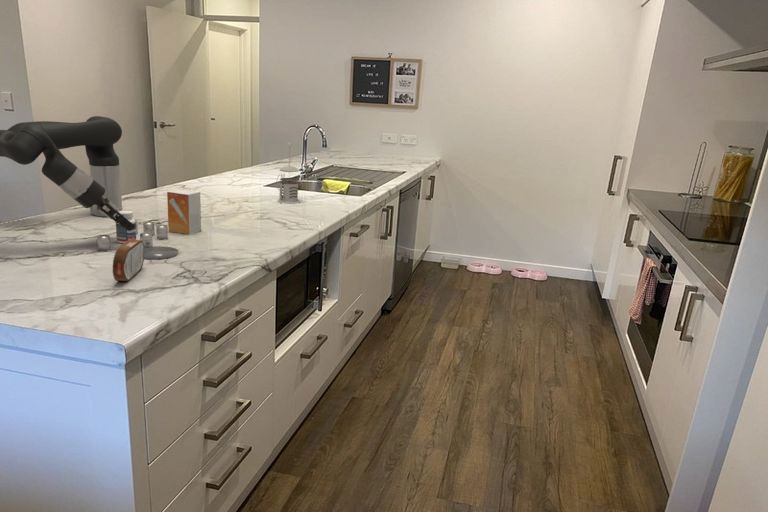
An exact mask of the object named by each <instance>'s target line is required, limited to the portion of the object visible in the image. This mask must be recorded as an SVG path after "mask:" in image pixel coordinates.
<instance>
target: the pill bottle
mask: <svg viewBox="0 0 768 512" xmlns="http://www.w3.org/2000/svg"><path fill="white" fill-rule="evenodd" d="M120 214H122V215H124V217H125V218H126V219H127V220H129V221H130V222H131V223H132V224H134V228H133V229H132V230H131V231H128V230H127V229H126V228H124V227H123V226H122V225H121V224H119V223H116V222H115V232H116V235H115V236H116V242H117V243H118V244H124V243H125V242H127V241H128V240H130V239H133V240H137V235H136V223H135V219H134V217H133V216H134V215H133V211H131V210H122V211H120ZM118 217H119V215H118Z"/></svg>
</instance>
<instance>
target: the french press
mask: <svg viewBox="0 0 768 512" xmlns="http://www.w3.org/2000/svg"><path fill="white" fill-rule="evenodd" d="M286 146H289V148H288V149H289V151H288V152H289V153H288V157H289V158H288V162H289V163H288V165H285V166H283V167H281V168H280V169H279V171H280V172H284V173H283V174H282V173H279V174H278V176H277V178H276V181H279V186H278V185H276V188H277V190H278V191H279V199H278V200H277V201H276V202H277V203H278V202H279V204H282V203H284V204H285V205H296V204H295V203H298V204H300V203H301V201H300V200H299V182H297V181H298V178H294V177H286V175H285V173H296V172H297V173H298V172H299V171H300V170H299V168H297V167H295V166H292V165H290V161H291V159H290V157H291V146H293V144H292V142H287V145H286ZM279 177H280V178H279ZM278 179H279V180H278ZM299 202H300V203H299Z"/></svg>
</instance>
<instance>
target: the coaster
mask: <svg viewBox="0 0 768 512" xmlns="http://www.w3.org/2000/svg"><path fill="white" fill-rule="evenodd" d="M177 254H178V255H179V250H178V248H175V247H172V246H162V245H161V246H159V245H158V246H153V247H147V248H144V260H150V259H158V260H164V259H163V258H167V259H170V258H169V257H172V258H174V257H173V256H175V255H177ZM178 255H177V256H178ZM175 257H176V256H175Z"/></svg>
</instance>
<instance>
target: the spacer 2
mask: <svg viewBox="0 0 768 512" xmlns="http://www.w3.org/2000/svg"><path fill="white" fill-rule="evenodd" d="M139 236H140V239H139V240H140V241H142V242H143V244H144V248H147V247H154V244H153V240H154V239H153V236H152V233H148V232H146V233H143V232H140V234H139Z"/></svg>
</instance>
